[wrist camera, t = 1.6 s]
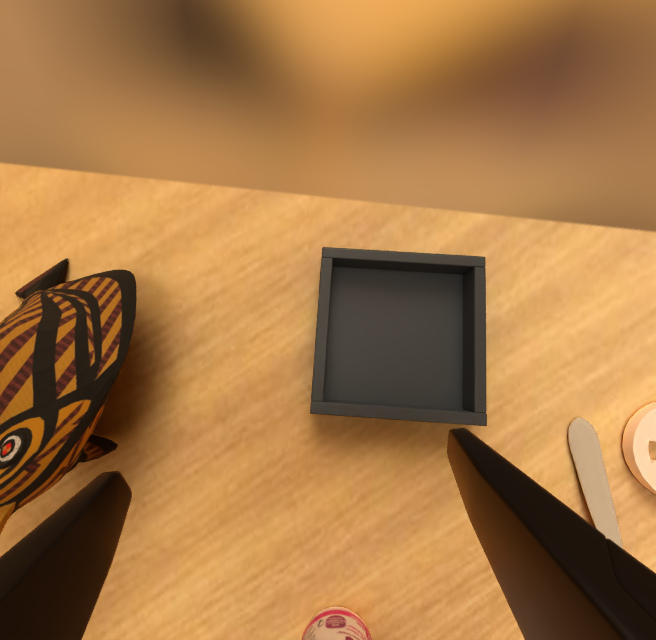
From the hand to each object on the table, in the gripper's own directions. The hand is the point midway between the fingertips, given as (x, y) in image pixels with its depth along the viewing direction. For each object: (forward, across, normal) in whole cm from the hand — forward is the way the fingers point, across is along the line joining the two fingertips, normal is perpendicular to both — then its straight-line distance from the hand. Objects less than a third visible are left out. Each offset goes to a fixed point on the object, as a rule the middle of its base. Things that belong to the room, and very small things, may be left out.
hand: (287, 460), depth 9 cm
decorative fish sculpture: (+15, +17, +5) cm, 23 cm away
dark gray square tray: (+15, -6, +5) cm, 17 cm away
